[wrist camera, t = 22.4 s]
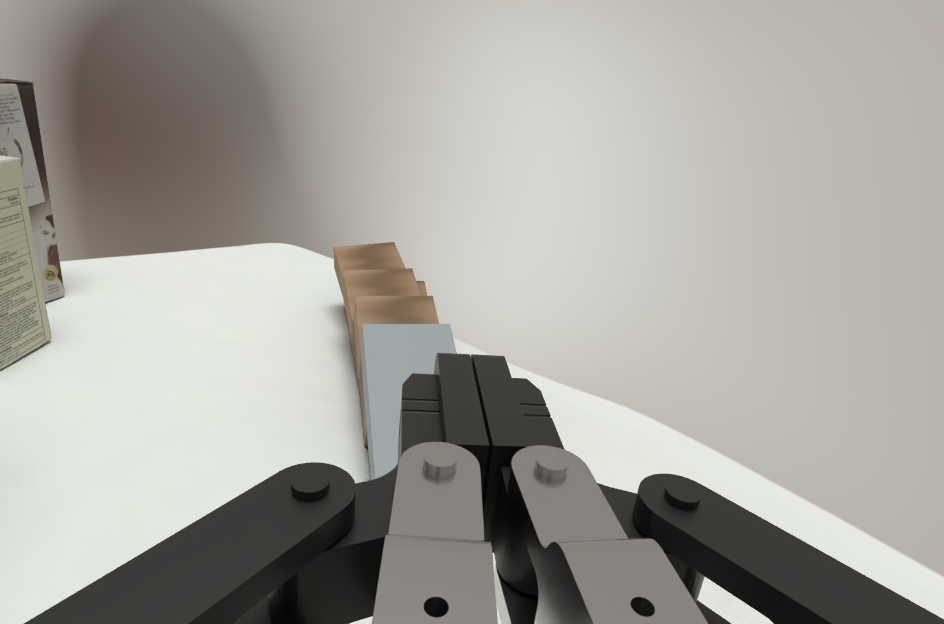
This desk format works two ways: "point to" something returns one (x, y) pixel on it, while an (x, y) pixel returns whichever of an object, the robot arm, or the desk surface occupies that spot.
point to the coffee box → (31, 175)
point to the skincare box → (18, 271)
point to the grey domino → (394, 380)
